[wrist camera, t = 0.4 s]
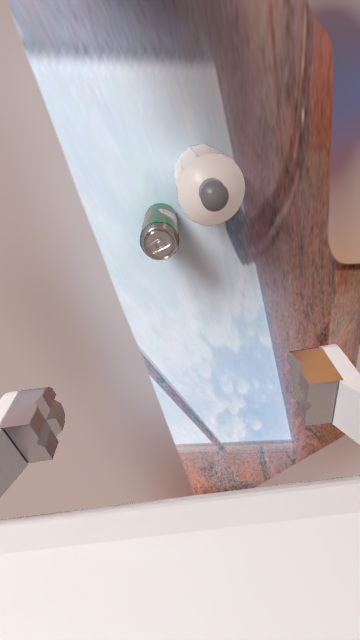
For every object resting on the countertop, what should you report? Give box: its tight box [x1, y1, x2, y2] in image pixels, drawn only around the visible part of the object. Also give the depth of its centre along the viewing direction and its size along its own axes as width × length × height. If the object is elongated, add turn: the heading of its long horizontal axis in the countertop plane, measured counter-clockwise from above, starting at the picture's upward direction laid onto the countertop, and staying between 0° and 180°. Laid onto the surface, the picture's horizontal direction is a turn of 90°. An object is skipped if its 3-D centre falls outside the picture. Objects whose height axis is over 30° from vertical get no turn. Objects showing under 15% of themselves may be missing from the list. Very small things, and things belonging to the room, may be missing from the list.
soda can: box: [140, 203, 179, 260], centre depth 44 cm, size 5×5×12 cm
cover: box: [174, 144, 245, 226], centre depth 39 cm, size 7×7×17 cm
